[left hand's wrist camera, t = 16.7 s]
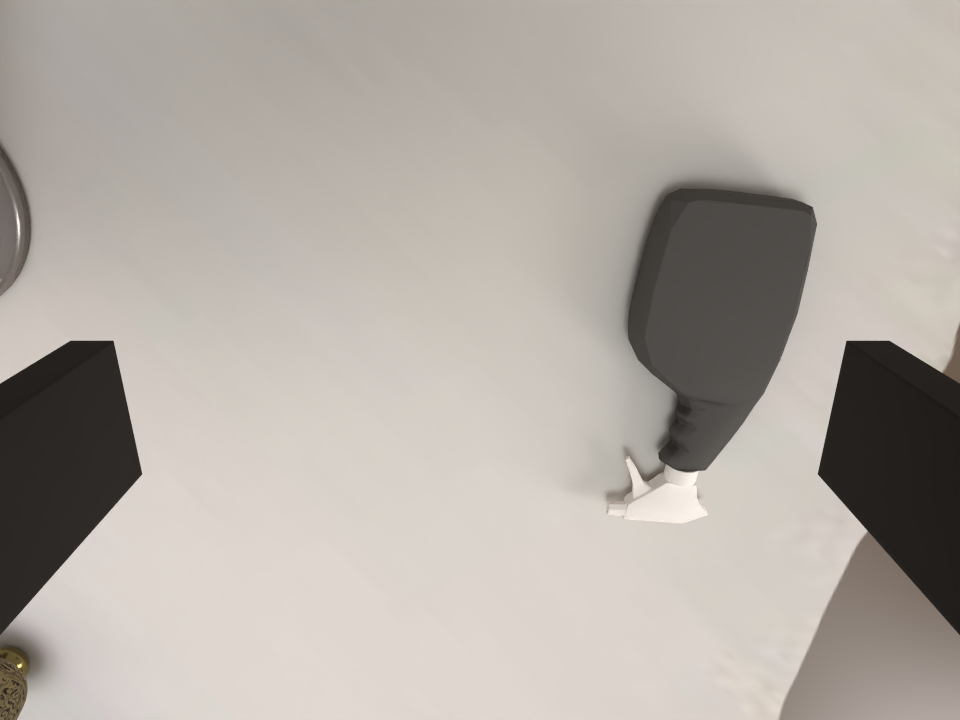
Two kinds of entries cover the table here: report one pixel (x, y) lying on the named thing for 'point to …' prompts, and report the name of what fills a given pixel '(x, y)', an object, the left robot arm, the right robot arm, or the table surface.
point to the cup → (12, 682)
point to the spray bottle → (712, 327)
